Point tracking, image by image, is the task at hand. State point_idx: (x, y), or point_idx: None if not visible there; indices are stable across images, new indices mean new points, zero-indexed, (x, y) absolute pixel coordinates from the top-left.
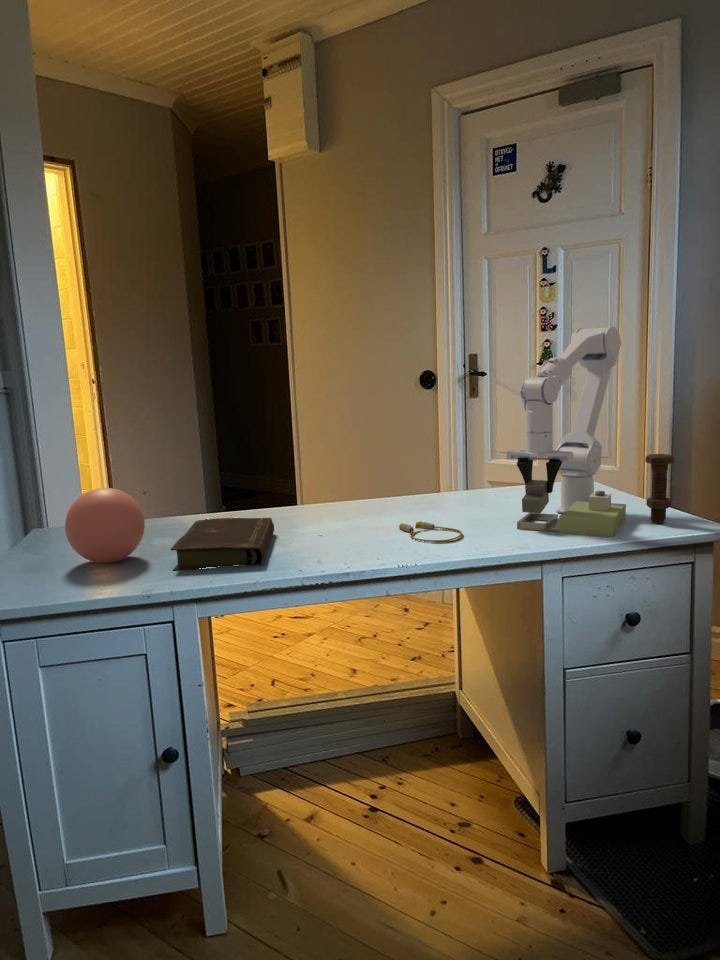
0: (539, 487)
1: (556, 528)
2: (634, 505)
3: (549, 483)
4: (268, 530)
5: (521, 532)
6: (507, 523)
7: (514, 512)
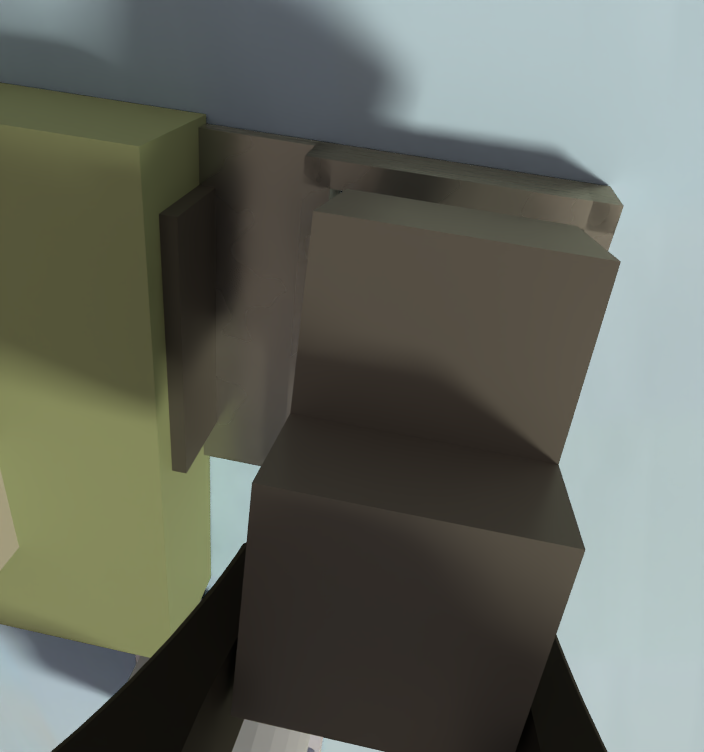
0: (320, 486)
1: (234, 176)
2: (9, 731)
3: (199, 637)
4: None
5: (563, 39)
6: (696, 367)
7: (619, 647)
